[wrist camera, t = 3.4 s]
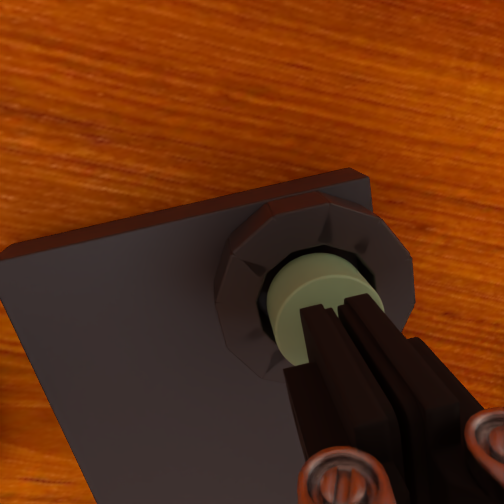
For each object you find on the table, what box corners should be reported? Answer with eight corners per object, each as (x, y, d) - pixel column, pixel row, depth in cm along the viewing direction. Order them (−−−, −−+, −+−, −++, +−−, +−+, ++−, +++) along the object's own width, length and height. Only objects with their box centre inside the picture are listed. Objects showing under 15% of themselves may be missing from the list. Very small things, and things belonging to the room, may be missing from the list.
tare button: (257, 264, 12) (264, 290, 11) (357, 241, 12) (380, 263, 11) (275, 350, 13) (285, 386, 12) (368, 328, 13) (390, 360, 12)
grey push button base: (10, 244, 14) (-48, 286, 11) (362, 163, 15) (407, 182, 11) (133, 524, 19) (119, 611, 16) (395, 460, 20) (433, 533, 16)
